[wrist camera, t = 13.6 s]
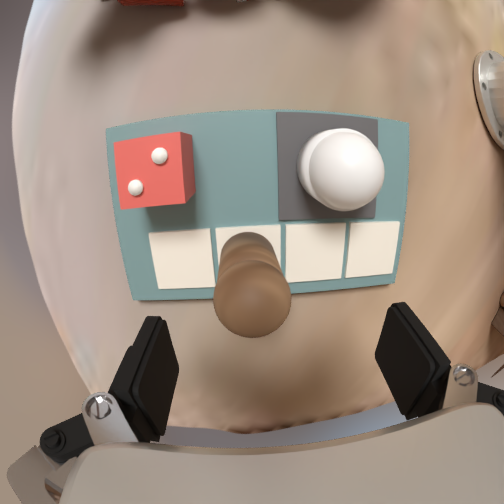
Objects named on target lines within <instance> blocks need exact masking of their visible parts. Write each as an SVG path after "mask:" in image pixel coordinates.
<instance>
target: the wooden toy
mask: <svg viewBox="0 0 504 504" xmlns="http://www.w3.org/2000/svg"><path fill="white" fill-rule="evenodd" d="M500 304H501V306H502V307H500V308H499V310H498V312H497V314H496V316H495V318H494V320H493V321H492V325H493V326H494V327H495V328H496V329H497V330H498V331H499V332H500V333H501V334H502V335H503V336H504V308H503V307H504V292H503V294H502V296H501V299H500Z"/></svg>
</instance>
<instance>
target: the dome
mask: <svg viewBox="0 0 504 504" xmlns="http://www.w3.org/2000/svg"><path fill="white" fill-rule="evenodd" d="M297 173H298V177H299V180H300V183H301V185H302V186H303V188H304V189H305V190H306V192H307V193H308V194H309V195H311V196H312V197H313V198H315V199H316V200H318V201H319V202H321V203H322V204H323V205H325V206H327V207H328V208H331V209H333V210H337V211H351V210H355V209H358V208H360V207H362V206H364V205H366V204H368V203H369V202H371V201H372V200H373V199H374V198H375V197H376V196H377V194H378V193H379V191H380V189H381V187H382V185H383V181H384V174H385V171H384V163H383V160H382V157H381V155H380V153H379V151H378V150H377V148H376V147H375V146H374V144H373V143H372V142H371V141H370V140H369V139H368V138H367V137H366V136H365V135H363V134H362V133H360V132H358V131H355V130H352V129H346V128H340V129H333V130H326V131H322V132H318V133H316V134H314V135H313V136H311V137H310V138H309V139H308V140H307V141H306V142H305V143H304V144H303V146H302V147H301V149H300V152H299V155H298V158H297Z"/></svg>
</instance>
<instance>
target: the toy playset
mask: <svg viewBox="0 0 504 504" xmlns="http://www.w3.org/2000/svg"><path fill="white" fill-rule="evenodd" d="M117 1H118V2H120V3H121V4H122V5H123V6H134V5H171V6H184V3H185V0H117ZM236 1H237V2H243V1H248V0H236Z"/></svg>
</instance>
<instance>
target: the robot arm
mask: <svg viewBox="0 0 504 504" xmlns="http://www.w3.org/2000/svg"><path fill="white" fill-rule="evenodd" d="M474 84H475V91H476V96H477V100H478V104H479V108H480V111H481V114H482V116H483V119H484V122H485V124H486V126H487V128H488V130H489V132H490V134H491V136H492V138H493V139H494V140H495V142H496V143H497V144H498V145H499V146H500V147H501V148H502V149H503V150H504V57H502V56H501V55H500V54H499V53H497V52H495V51H492V50H487V51H482V52H480V53H479V54H478V55H477V57H476V60H475V64H474ZM375 359H376V361H377V363H378V365H379V367H380V369H381V372H382V374H383V376H384V378H385V380H386V382H387V384H388V386H389V388H390V391H391V393H392V395H393V397H394V399H395V401H396V403H397V405H398V408H399V410H400V412H401V414H402V415H405V417H406V419H407V420H410V419H413V418H416V417H417V416H418V418H416V419H413V420H410V421H406V422H403V423H400V424H397V425H393V426H390V427H386V428H383V429H379V430H375V431H372V432H368V433H363V434H359V435H354V436H350V437H344V438H339V439H334V440H328V441H322V442H315V443H308V444H299V445H291V446H279V447H262V448H206V447H188V446H176V445H166V444H155V443H150V441H156V442H159V439H160V435H161V436H163V435H164V434H165V430H166V425H167V421H168V416H169V412H170V407H171V403H172V399H173V394H174V390H175V386H176V382H177V378H178V373H179V365H178V362H177V358H176V355H175V351H174V348H173V345H172V341H171V337H170V334H169V330H168V326H167V323H166V321H165V320H162V318H161V317H160V316H147V317H146V319H145V321H144V323H143V325H142V327H141V329H140V331H139V333H138V335H137V337H136V339H135V341H134V344H133V346H130V347H129V348H128V349H127V351H126V353H125V355H124V358H123V360H122V362H121V364H120V366H119V368H118V371H117V373H116V375H115V377H114V380H113V382H112V384H111V386H110V389H109V391H108V393H105V392H97V393H94V394H92V395H90V396H88V398H86V399H85V401H84V403H83V404H82V413H81V414H79V415H77V416H75V417H72V418H70V419H68V420H66V421H64V422H61V423H59V424H57V425H55V426H52V427H50V428H48V429H47V430H45V431H44V432H43V434H42V436H41V438H40V446H38V447H37V446H34V447H32V448H31V449H30V450H29V451H28V452H26V453H25V454H24V455H23V456H22V457H20V458H19V459H18V460H17V461H16V462H15V463H13V464H12V465H11V466H10V467H9V468H8V471H7V478H8V481H9V483H10V485H11V487H12V488H13V490H14V492H15V493H16V495H17V496H18V498H19V499H20V501H21V503H22V504H504V390H501V389H498V388H495V387H492V386H489V385H486V384H483V383H480V382H478V376H477V373H476V372H475V370H474V369H473V368H471V367H470V366H468V365H466V364H456V365H454V366H453V367H451V366H450V363H451V361H450V360H449V358H448V357H447V356H446V354H445V353H444V352H443V350H442V349H441V347H440V346H439V345H438V343H437V342H436V341H435V339H434V338H433V337H432V335H431V334H430V333H429V331H428V330H427V329H426V328H425V326H424V325H423V324H422V322H421V321H420V320H419V319H418V317H417V316H416V315H415V314H414V312H413V311H412V310H411V309H410V307H409V306H408V305H407V304H406V303H405V302H399V303H393V304H392V305H391V307H389V308H388V310H387V314H386V318H385V321H384V325H383V328H382V332H381V335H380V338H379V342H378V345H377V348H376V351H375Z"/></svg>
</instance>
